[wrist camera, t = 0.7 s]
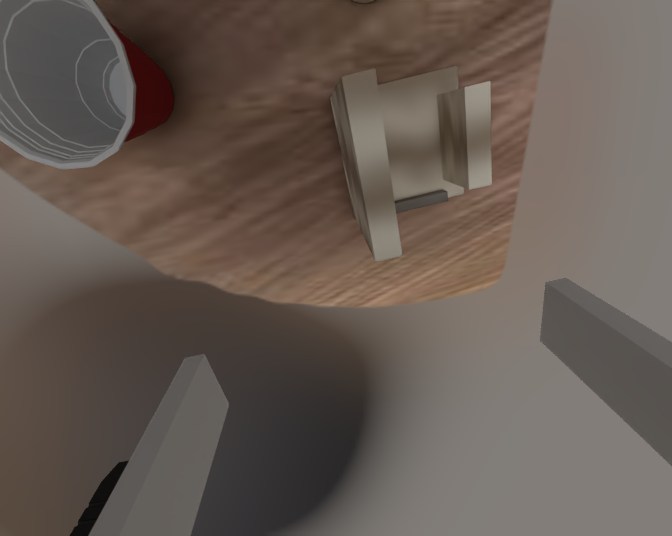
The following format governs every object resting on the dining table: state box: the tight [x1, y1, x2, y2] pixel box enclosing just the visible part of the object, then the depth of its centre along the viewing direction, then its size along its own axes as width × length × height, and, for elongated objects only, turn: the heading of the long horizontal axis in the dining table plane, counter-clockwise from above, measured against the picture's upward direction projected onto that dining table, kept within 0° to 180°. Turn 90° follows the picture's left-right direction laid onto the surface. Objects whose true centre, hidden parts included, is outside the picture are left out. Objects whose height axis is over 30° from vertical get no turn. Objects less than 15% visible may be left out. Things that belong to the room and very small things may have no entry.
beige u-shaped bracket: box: [330, 65, 492, 262], centre depth 26 cm, size 12×12×13 cm
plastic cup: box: [0, 0, 174, 169], centre depth 23 cm, size 11×11×12 cm
